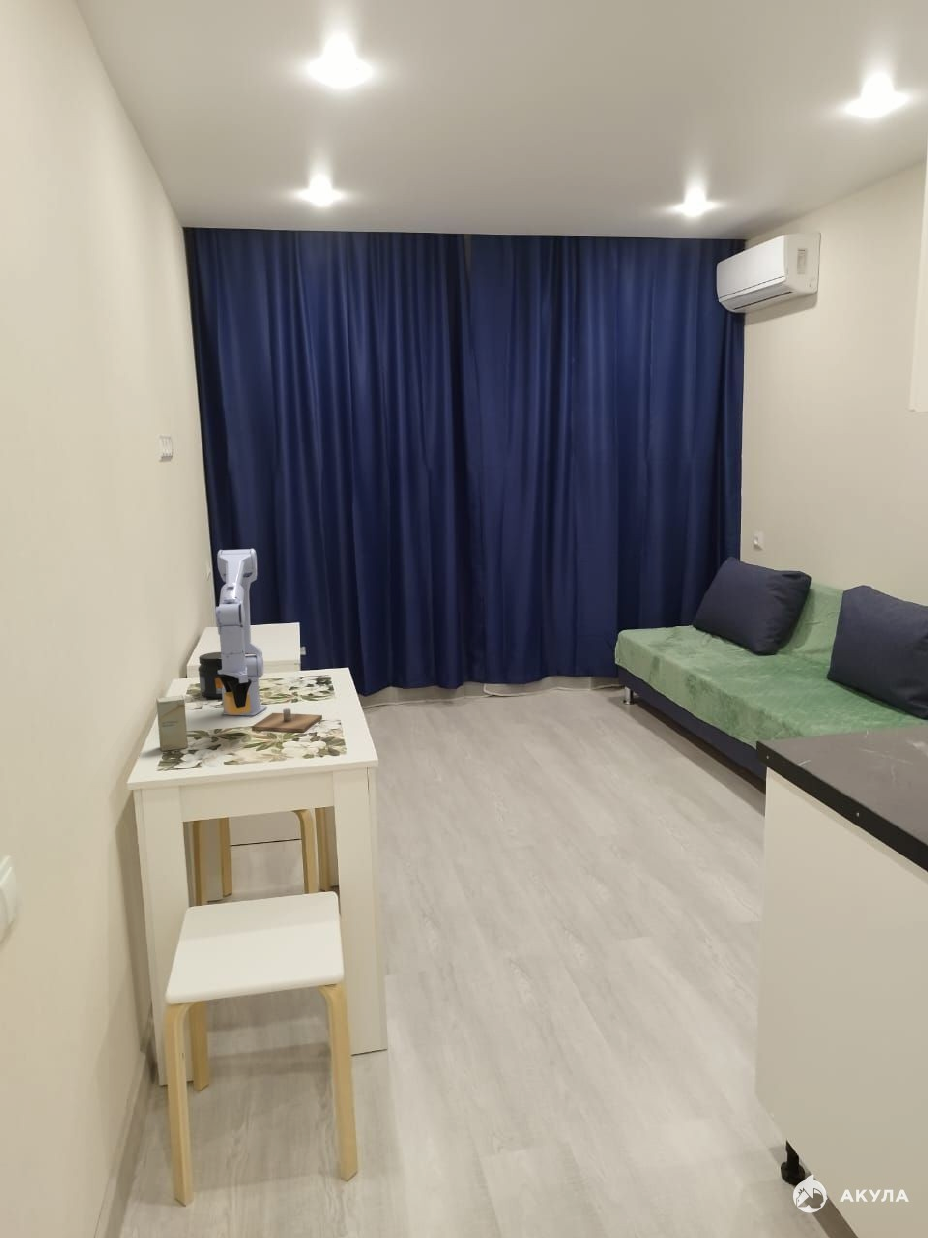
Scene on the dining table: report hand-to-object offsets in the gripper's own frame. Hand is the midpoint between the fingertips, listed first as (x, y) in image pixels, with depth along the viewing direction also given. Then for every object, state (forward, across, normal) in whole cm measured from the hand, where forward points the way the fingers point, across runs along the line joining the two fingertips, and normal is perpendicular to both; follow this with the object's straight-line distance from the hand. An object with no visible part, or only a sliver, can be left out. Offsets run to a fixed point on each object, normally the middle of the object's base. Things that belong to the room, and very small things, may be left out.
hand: (237, 704), depth 223 cm
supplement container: (+8, -39, +6) cm, 40 cm away
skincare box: (+8, +1, -16) cm, 18 cm away
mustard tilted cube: (+2, 0, 0) cm, 2 cm away
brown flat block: (+8, 0, +13) cm, 15 cm away
